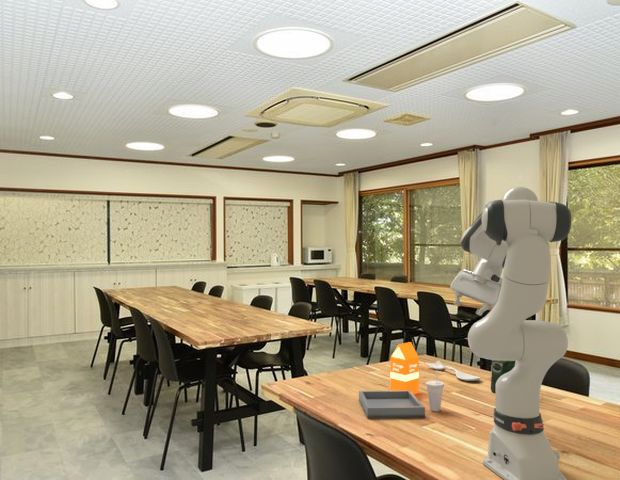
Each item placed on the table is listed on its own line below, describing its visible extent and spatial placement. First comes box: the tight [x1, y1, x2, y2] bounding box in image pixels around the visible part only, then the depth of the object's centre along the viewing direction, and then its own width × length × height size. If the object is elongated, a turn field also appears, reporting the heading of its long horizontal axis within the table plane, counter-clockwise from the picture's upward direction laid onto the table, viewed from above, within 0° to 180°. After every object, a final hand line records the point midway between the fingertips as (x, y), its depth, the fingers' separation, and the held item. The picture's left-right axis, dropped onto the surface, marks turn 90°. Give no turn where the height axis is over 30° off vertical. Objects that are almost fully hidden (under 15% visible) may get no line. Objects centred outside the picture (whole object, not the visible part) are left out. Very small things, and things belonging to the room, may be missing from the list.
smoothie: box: [425, 370, 445, 412], centre depth 177 cm, size 6×6×14 cm
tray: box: [358, 390, 426, 419], centre depth 178 cm, size 20×20×4 cm
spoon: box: [423, 360, 481, 382], centre depth 226 cm, size 9×32×4 cm, turn 24°
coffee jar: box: [490, 360, 517, 394], centre depth 198 cm, size 10×8×19 cm
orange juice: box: [389, 341, 420, 395], centre depth 198 cm, size 8×9×20 cm
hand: (466, 309), depth 173 cm, fingers open, 8 cm apart
